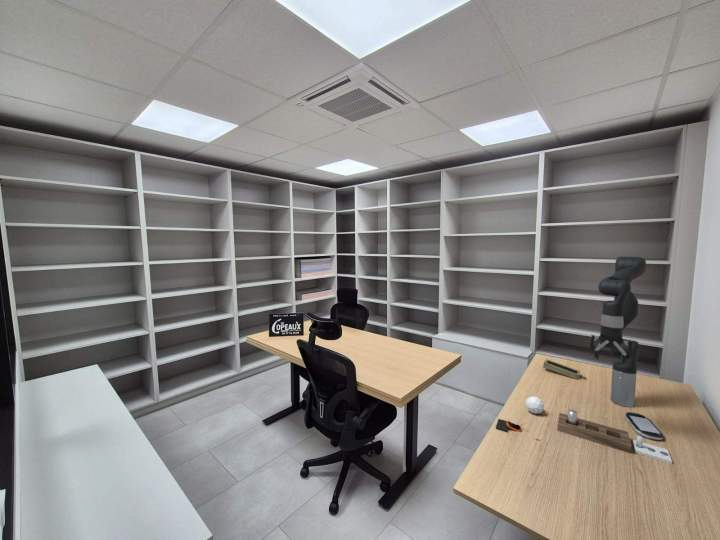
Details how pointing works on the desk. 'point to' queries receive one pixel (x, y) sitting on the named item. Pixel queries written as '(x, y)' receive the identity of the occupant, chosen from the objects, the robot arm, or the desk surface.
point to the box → (562, 369)
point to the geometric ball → (534, 405)
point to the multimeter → (507, 426)
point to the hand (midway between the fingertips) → (609, 360)
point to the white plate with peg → (651, 450)
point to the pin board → (596, 433)
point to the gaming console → (644, 426)
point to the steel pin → (572, 417)
